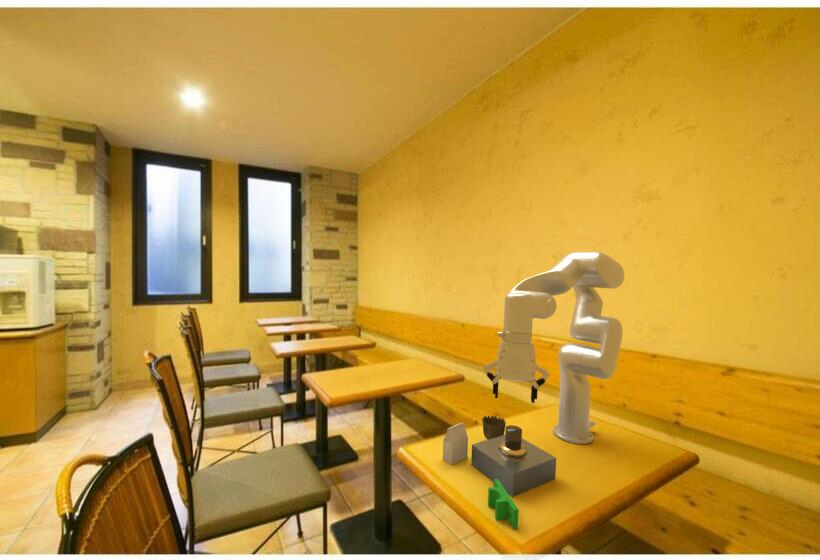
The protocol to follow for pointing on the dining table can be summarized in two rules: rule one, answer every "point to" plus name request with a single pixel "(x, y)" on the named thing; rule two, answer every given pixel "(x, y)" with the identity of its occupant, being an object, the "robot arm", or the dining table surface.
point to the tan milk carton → (455, 444)
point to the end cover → (513, 442)
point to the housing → (514, 466)
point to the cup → (493, 427)
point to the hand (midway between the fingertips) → (514, 399)
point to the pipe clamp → (503, 504)
